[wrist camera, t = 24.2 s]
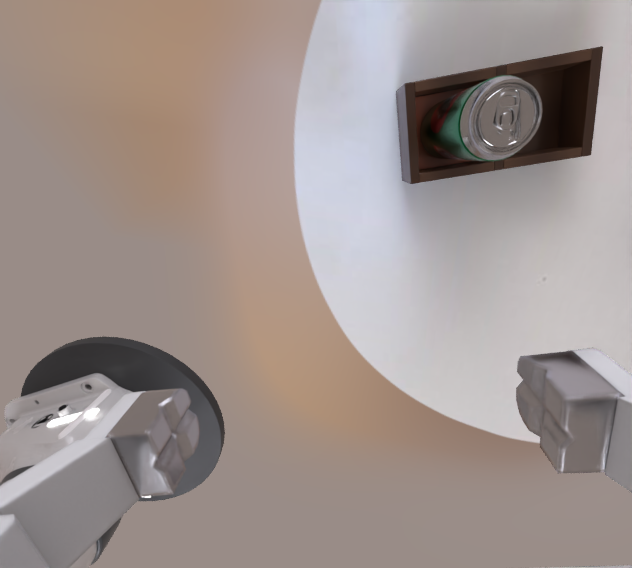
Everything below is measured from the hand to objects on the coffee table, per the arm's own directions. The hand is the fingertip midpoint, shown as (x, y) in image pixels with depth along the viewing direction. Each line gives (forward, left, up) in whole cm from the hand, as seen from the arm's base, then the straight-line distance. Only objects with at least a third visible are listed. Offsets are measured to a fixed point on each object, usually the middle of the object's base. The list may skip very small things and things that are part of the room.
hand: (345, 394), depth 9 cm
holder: (+15, +6, -30) cm, 34 cm away
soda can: (+11, +6, -29) cm, 32 cm away
